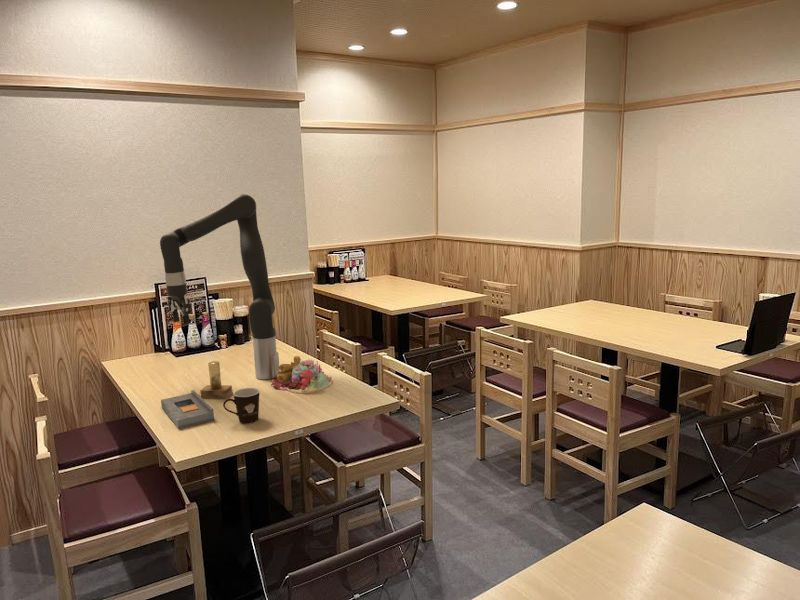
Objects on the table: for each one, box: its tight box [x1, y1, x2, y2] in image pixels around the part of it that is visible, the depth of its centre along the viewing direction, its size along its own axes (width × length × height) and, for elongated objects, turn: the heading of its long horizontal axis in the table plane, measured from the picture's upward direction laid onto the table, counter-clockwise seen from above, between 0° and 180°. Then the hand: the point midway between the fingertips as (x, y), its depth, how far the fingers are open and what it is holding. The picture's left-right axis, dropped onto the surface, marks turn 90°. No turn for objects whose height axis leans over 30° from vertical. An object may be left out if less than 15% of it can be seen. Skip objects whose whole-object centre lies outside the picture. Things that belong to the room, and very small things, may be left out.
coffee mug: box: [222, 387, 260, 425], centre depth 205 cm, size 12×9×10 cm
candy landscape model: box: [270, 355, 333, 395], centre depth 242 cm, size 25×24×9 cm
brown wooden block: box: [200, 384, 233, 399], centre depth 231 cm, size 10×6×3 cm, turn 83°
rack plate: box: [160, 389, 215, 430], centre depth 213 cm, size 24×12×4 cm, turn 34°
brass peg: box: [208, 360, 222, 390], centre depth 230 cm, size 4×4×10 cm
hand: (181, 323), depth 241 cm, fingers open, 8 cm apart
